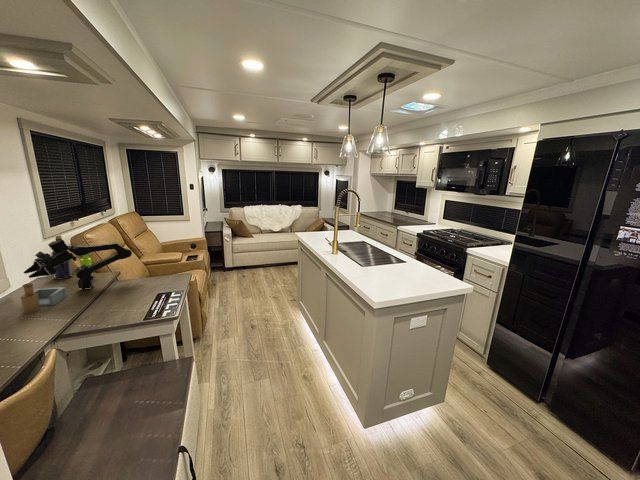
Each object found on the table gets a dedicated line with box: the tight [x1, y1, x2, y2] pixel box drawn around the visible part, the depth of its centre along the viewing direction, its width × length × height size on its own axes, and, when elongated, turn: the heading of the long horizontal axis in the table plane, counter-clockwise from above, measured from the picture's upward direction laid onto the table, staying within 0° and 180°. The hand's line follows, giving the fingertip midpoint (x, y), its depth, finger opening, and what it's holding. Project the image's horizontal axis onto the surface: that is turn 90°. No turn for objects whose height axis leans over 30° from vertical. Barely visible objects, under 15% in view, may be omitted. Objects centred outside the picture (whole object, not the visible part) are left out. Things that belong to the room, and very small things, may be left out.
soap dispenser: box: [79, 253, 94, 276], centre depth 185 cm, size 6×7×20 cm
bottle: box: [50, 234, 73, 279], centre depth 179 cm, size 9×9×30 cm
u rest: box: [33, 287, 67, 307], centre depth 147 cm, size 12×13×6 cm
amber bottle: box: [20, 283, 41, 315], centre depth 135 cm, size 6×6×15 cm
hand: (26, 275), depth 144 cm, fingers open, 9 cm apart
